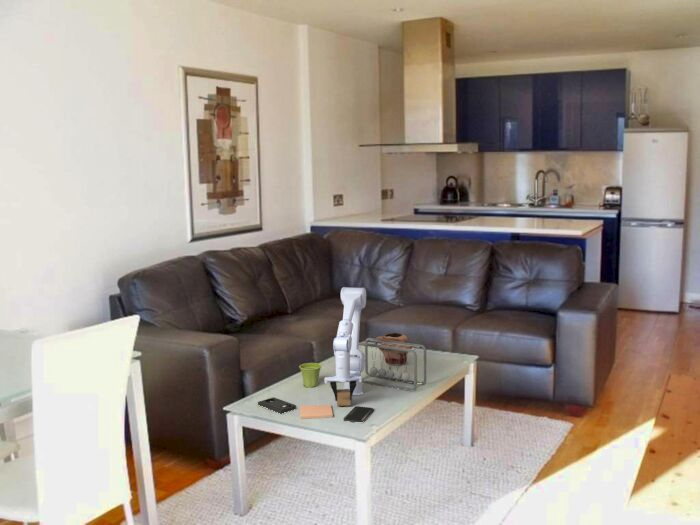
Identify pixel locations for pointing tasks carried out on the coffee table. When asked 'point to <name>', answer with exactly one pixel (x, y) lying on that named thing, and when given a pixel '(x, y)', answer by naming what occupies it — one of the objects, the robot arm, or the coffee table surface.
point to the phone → (358, 414)
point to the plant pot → (310, 374)
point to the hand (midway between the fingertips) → (343, 399)
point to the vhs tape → (277, 405)
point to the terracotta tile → (316, 411)
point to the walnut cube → (343, 397)
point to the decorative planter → (395, 356)
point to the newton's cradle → (389, 373)
